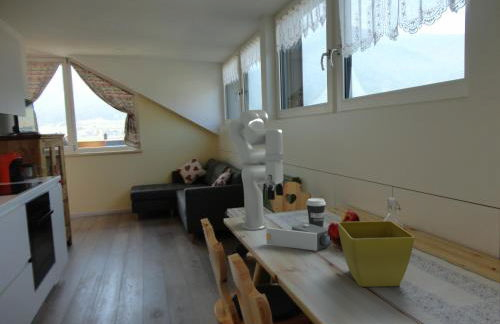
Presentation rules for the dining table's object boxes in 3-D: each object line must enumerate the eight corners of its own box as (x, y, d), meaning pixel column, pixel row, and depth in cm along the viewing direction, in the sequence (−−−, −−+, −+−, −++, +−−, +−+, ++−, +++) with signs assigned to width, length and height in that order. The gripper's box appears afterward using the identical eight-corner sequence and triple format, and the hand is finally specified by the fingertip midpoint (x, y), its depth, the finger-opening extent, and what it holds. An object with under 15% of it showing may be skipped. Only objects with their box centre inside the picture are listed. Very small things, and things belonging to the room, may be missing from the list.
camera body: (292, 242, 148) (291, 225, 148) (306, 237, 154) (306, 221, 153) (320, 251, 136) (319, 233, 135) (334, 246, 141) (334, 228, 141)
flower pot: (337, 266, 121) (336, 221, 119) (390, 265, 120) (391, 220, 119) (351, 292, 102) (351, 238, 100) (415, 291, 101) (416, 237, 100)
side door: (317, 249, 137) (316, 233, 136) (316, 251, 135) (315, 234, 135) (267, 243, 147) (267, 227, 146) (266, 244, 145) (265, 228, 145)
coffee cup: (304, 231, 163) (303, 201, 161) (308, 226, 172) (308, 197, 170) (324, 233, 159) (324, 202, 158) (327, 227, 168) (327, 198, 167)
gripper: (274, 156, 154) (275, 193, 155) (257, 159, 138) (259, 200, 140) (289, 156, 150) (290, 194, 152) (274, 159, 135) (275, 202, 136)
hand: (275, 197), depth 146 cm, fingers open, 9 cm apart
